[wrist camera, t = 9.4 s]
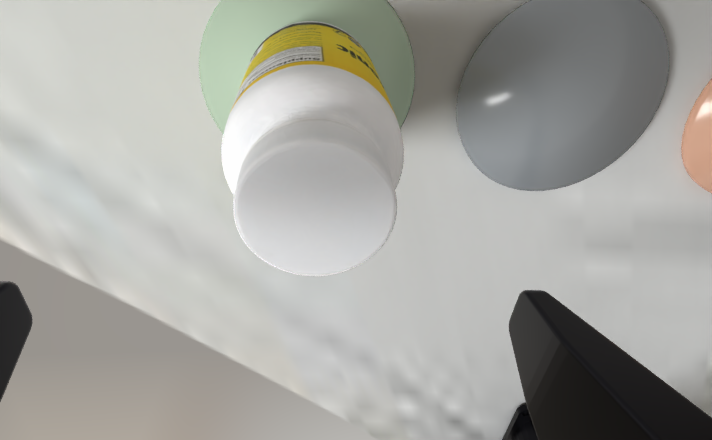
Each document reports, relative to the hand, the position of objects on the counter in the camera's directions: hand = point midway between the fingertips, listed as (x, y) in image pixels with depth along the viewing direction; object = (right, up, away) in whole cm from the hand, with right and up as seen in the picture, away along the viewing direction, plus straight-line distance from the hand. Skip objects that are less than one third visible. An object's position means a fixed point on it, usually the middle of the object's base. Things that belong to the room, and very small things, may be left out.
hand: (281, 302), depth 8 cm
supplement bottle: (0, +7, +11) cm, 13 cm away
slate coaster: (+10, +7, +12) cm, 17 cm away
